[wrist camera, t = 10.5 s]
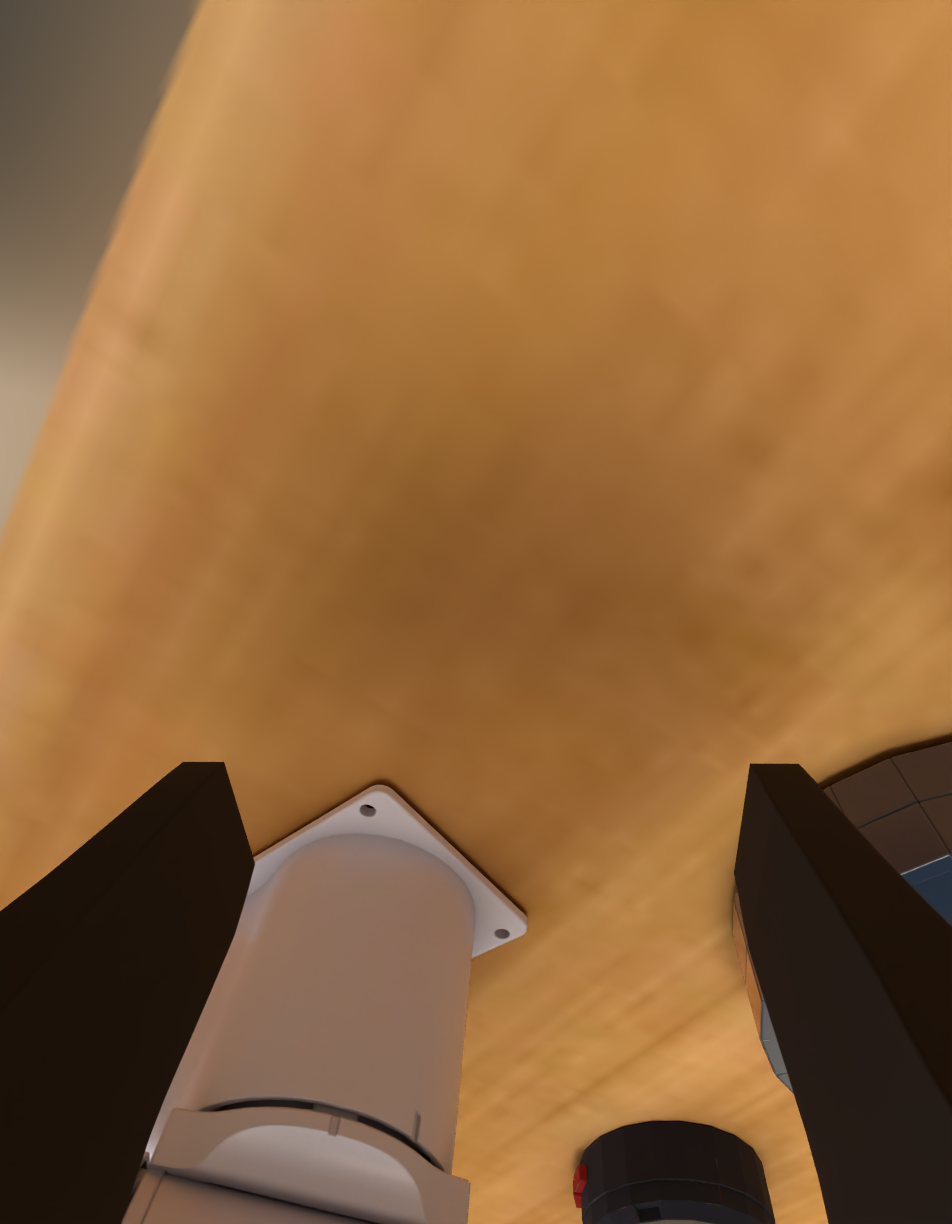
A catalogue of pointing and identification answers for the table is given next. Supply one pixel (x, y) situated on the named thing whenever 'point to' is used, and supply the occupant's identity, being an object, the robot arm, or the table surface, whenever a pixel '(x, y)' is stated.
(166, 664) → the table surface
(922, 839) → the pan
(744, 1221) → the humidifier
